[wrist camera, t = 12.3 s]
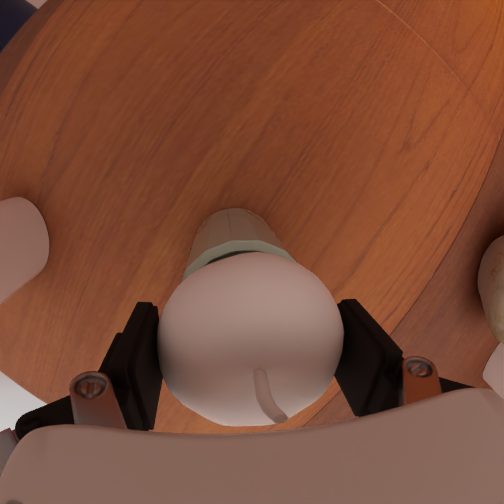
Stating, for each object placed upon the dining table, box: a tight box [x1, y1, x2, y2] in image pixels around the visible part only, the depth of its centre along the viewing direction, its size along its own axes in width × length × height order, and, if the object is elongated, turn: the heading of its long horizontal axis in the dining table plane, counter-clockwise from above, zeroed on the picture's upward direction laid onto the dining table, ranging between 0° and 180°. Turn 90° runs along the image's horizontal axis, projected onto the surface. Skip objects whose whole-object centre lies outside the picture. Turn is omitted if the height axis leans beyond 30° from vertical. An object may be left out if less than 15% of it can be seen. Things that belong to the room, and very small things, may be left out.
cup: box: [179, 208, 299, 285], centre depth 18 cm, size 6×6×9 cm
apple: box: [157, 252, 344, 426], centre depth 10 cm, size 7×7×8 cm
